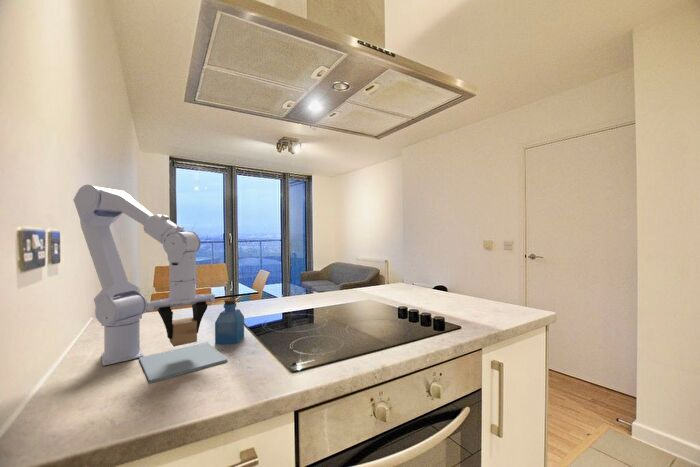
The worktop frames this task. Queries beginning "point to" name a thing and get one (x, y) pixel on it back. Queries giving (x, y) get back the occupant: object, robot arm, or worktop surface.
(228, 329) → the perfume bottle
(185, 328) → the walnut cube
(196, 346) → the slate board
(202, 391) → the worktop surface
